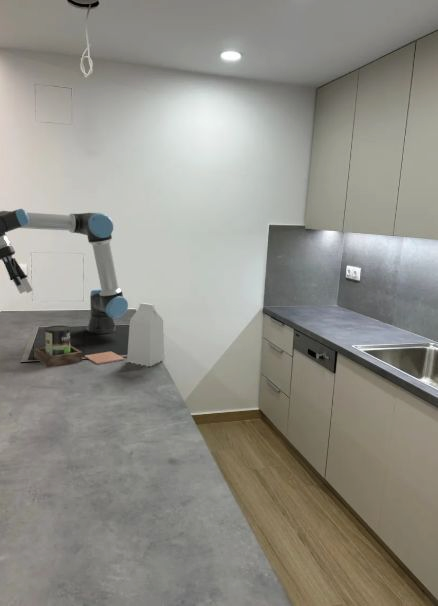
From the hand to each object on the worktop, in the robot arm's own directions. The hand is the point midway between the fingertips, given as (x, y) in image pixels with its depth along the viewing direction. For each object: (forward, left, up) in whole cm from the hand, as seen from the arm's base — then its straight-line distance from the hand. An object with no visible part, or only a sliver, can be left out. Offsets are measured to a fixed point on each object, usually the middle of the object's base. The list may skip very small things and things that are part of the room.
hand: (26, 292), depth 203 cm
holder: (-8, +15, -28) cm, 33 cm away
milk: (-39, +37, -28) cm, 61 cm away
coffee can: (-8, +15, -28) cm, 33 cm away
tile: (-25, +24, -28) cm, 45 cm away
